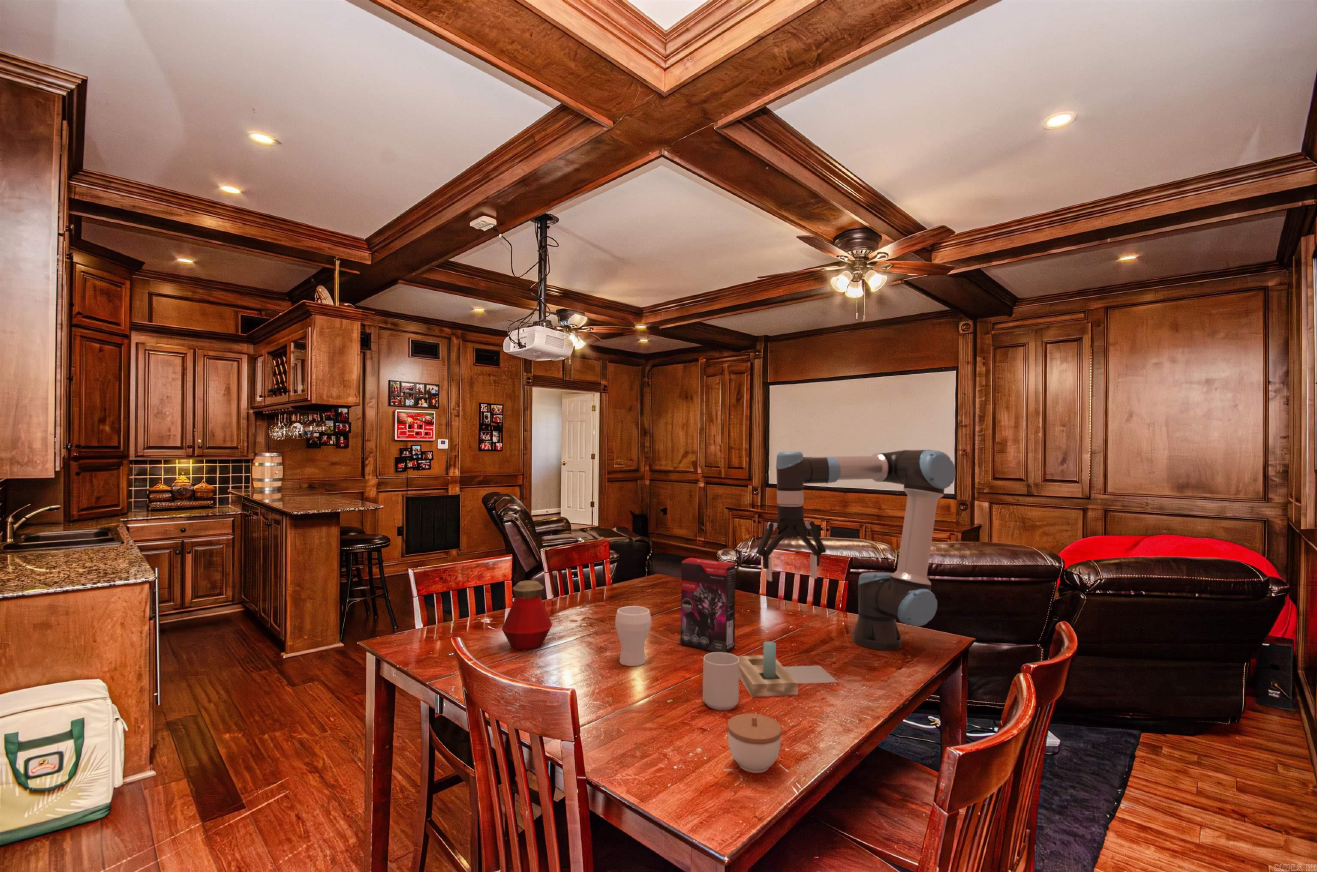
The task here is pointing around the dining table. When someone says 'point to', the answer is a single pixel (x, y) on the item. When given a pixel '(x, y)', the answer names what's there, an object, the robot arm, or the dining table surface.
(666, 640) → the dining table surface
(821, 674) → the mat
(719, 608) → the graphics card box
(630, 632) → the cup
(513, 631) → the bottle
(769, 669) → the peg
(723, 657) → the mug
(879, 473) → the robot arm
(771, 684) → the hole block
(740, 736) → the lidded jar
